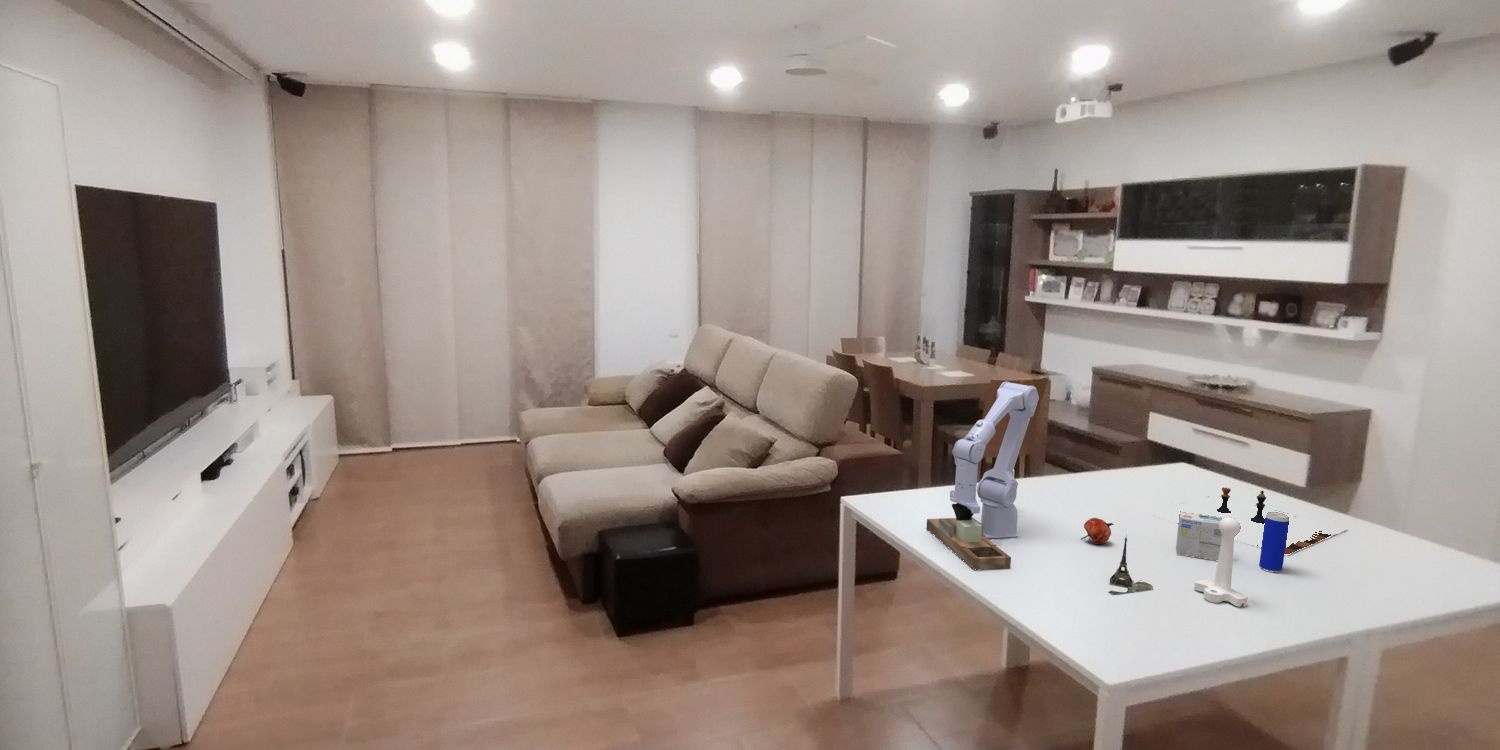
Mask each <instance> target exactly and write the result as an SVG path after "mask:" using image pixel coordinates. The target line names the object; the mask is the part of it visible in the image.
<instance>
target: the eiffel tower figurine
mask: <svg viewBox="0 0 1500 750" xmlns="http://www.w3.org/2000/svg"><path fill="white" fill-rule="evenodd" d="M1125 536H1127V533H1126V534H1125ZM1127 541H1128V538H1127V537H1124V543H1123V544H1124V545H1123V551H1122V556H1121V560H1120V562H1119V565H1118V568H1117V569H1116V571H1115V573H1113V574H1112V576H1110V577H1111V578H1110V577H1109V586H1113V587H1119V588H1124V589H1127V590H1126V591H1123V592H1122V591H1115V590H1109V591H1107V593H1108V594H1110V595H1112V596H1115V595H1125V594H1131V593H1139V592H1145V591H1146V592H1147V591H1153V590H1154V586H1153V585H1152V584H1150V583H1148V582H1146V581H1143V582H1140V581H1136V582H1134V580H1133V579H1132V577H1131V575H1130V571H1129V570H1128V566H1127V565H1128V562H1127ZM1123 568H1124V569H1123Z"/></svg>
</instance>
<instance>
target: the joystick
mask: <svg viewBox="0 0 1500 750" xmlns="http://www.w3.org/2000/svg"><path fill="white" fill-rule="evenodd" d="M1219 529H1220V531H1221V532H1222V535H1223V538H1222V543H1221V548H1220V553H1219V559H1218V561H1217V565H1216V571H1215V575H1214V581H1210V580H1207V579H1198V580H1196V581H1194V583H1193V584H1194V586H1193V590H1195V591H1198V592H1202V593H1203V595H1202V598H1203V599H1205V600H1206V602H1210V603H1212V604H1219V603H1221V602H1223V601H1224V602H1228V603H1231V604H1232V605H1233V606H1236V607H1247V605H1248V595H1246V594H1244V593H1242V592H1240V591H1238V590H1236V589H1233V588H1232V579H1233V578H1232V577H1233V576H1232V575H1233V564H1234V563H1233V561H1234V547H1235V543H1234V542H1235V541H1234V537H1235V536H1236V535H1237V534H1238V533H1239V532H1240V529H1241V526H1240V523H1239V522H1238V521H1237V520H1236V519H1235V518H1232V517H1226V518H1223V519H1222V520H1221V521H1220V523H1219Z"/></svg>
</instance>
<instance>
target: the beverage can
mask: <svg viewBox="0 0 1500 750" xmlns="http://www.w3.org/2000/svg"><path fill="white" fill-rule="evenodd" d="M1283 513H1284V512H1283ZM1283 513H1278V512H1268V513H1267V515H1266V518H1265V525H1264V532H1263V540H1262V547H1261V548H1260V549H1261V550H1260V557H1259V563H1258V566H1259V568H1260V567H1261V568H1262V569H1261V568H1260V569H1261V570H1263V569H1265V570H1268V571H1273V572H1279V573H1280V571H1281V572H1282V571H1283V568H1284V561H1285V555H1284V554H1285V547H1286V540H1287V533H1288V525H1289V517H1288V516H1287V515H1285V514H1283ZM1265 570H1264V571H1265ZM1268 571H1267V572H1268Z"/></svg>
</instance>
